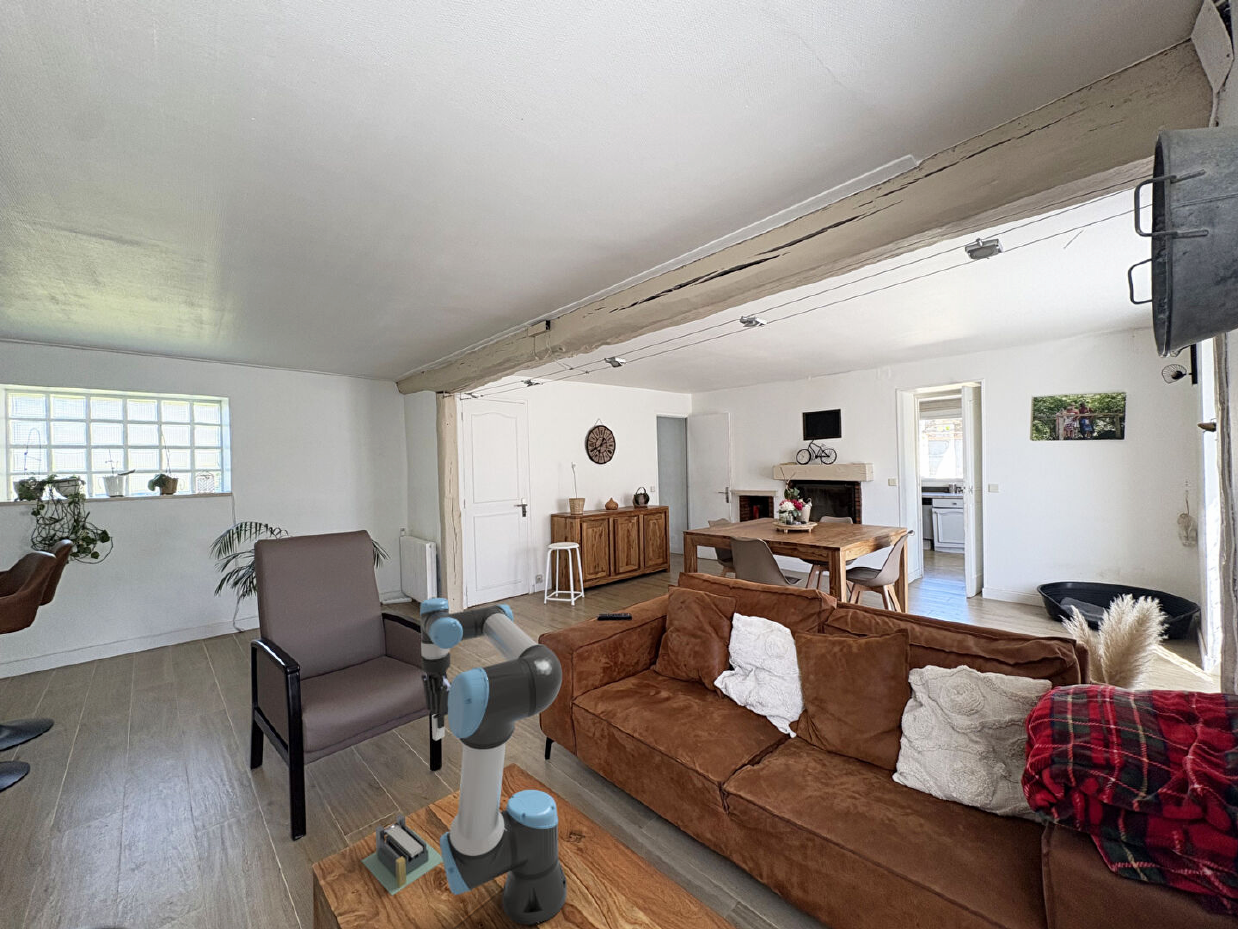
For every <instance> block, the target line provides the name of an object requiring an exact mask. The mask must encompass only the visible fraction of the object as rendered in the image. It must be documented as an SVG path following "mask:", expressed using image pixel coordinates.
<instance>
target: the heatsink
mask: <svg viewBox="0 0 1238 929" xmlns="http://www.w3.org/2000/svg"><path fill="white" fill-rule="evenodd" d="M403 827H404V831H405V832H406V833H407V834H408V835H409V836H410V837H412V838H413V839H414V840H415V841H416V842H417V843H418V844H420V845H421V846H422V847H423V851H421V852H420V853H418V854H416V855H415V856H413V857H412V858H411V857H410V856H409V855H408V854H407V853H406V852H405V851H404V850H403V849H402V848H400V847H399V846H398V845H397V844H396V843H395V842H394V841H393V840H392V839H391V838H390V837H389V836H387V835H385V841H384V840H383V839H381V840H379V844H380V848H378V860H379V861H380V862H381V863H382V864H383V865H384V866H385V867H386V868H387V869H388V870H389V871H390V873H391V874H392V875H393V876H394V877H395V878H396V860H397V859H398V858H400V857H403V858H404V859H405V865H406V876H407V875H408V874H410V873H411V872H413V871H414V870H416V869H417V868H419V867H420V866H422V865H423V864H425V863H426V862H428V861H429V857H428V849H426V843H425V842H426V841H425V840H424V839H423V838H422V839H423V840H424V841H425V842H424V841H423V840H422V839H420V838H419V837H418V836H417V835H416V834H417V833H416V832H415V831H414V830H413V831H414V832H415V833H416V834H415V833H414V832H413V831H412V829H411V828H410V827H409V826H407V825H406V824H405V826H403Z"/></svg>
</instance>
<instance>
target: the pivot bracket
mask: <svg viewBox="0 0 1238 929" xmlns="http://www.w3.org/2000/svg"><path fill="white" fill-rule="evenodd" d="M396 822H397V823H398V825H399V827H400V828H401V829H402V830H404V827H403V826H405V825H406V816H404V815H403V814H402V813H399V814H397V815H396ZM384 829H385V828H384V827H383V826H382V825H378V826H376V827H375V846H376V847H375V848H376V851H375V852H377V855H378V848H380V844H379V840H381V839H383V840H384V841H385V842H386V837H385V836H386V835H385V832H384Z"/></svg>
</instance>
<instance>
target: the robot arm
mask: <svg viewBox="0 0 1238 929" xmlns="http://www.w3.org/2000/svg"><path fill="white" fill-rule="evenodd" d="M419 609H420V612H419V616H420V619H419V620H420V637H421V638H420V639H421V640H420V641H421V642H420V643H421V644H420V646H421V649H420V650H421V656H422V657H421V670H422V671H423V672H425V673H424V674H421V675H420V676H421V681H422V683H423V684H422V685H423V692H424V699H425V705H426V710H427V711H429V714H430V715H431V727H432V728H431V731H432V732H431V734H432V739H433V740H434V741H438V740H440V739H442V738H445V737H446V735H445V734H446V733H445V732H446V731H445V716H447V719H448V725H449V729H450V731H451V734H452V736H454V737H455V738H457V739H458V740H459V742H460V743H461V744H462V756H461V757H462V758H461V770H460V781H459V783H460V785H459V798H458V801H459V802H458V810H457V811H458V812H457V814H456V816H455V817H454V818H453V820H452V822H451V823H450V827H449V831H446V832H445V833H444V834H442V835H441V836H440V837H439V847H440V855H441V856H442V859H443V862H442V863H443V868H444V871H445V878H446V880H447V883H448V884H447V885H448V888H449V890H450V892H451V893H452V894H453V895H455V896H457V895H462V894H463V893H466V892H471V891H473V890H474V889H476V888H477V887H480V886H481V885H485V884H486V883H488V882H491V881H492V880H495V879H496V878H498V877H500V876H502V875H504V874H506V880H505V882H504V884H503V888H502V895H501V896H502V899H501V900H502V909H503V911H504V913H505V915H506V916H507V917H508V918H509V919H510V920H511V921H513V922H514V923H515V924H516V923H517V924H521V925H526V926H528V925H529V926H533V925H535V924H534V923H538V922H542V921H544V920H546V921H548V920H550V919H552V918H553V917H554V916H556V915H557V914H558V913H559V912H560V910H562V908H563V907H564V904H565V903H566V900H567V897H568V896H567V895H568V884H567V877H566V875H565V872H564V870H563V869H564V868H563V866H562V865H561V861H560V859H559V858H560V857H559V831H558V830H559V817H558V816H559V815H558V810H557V808H558V807H557V803H556V801H555V799H554V798H553V797H552V796H551V795H550V794H549V793H547V792H544V791H541V790H536V789H524V790H522V791H518V792H516V793H514V794H513V795H511V797H510V798H509V799H508V801H507V803H506V809H503V810H501V811H500V804H501V803H500V802H501V793H502V784H503V775H504V774H503V773H504V764H505V755H506V754H505V753H506V744H507V743H508V742H509V741H510V739H511V738H512V737H513V734H514V733H515V727H516V722H517V721H521V720H524V719H527V718H530V717H533V716H535V715H538V714H540V713H542V712H544V711H545V710H546V709H548V708H549V707H550V706H552V704H553V702H554V701H555V700H556V698H557V696H558V694H559V692H560V689H561V686H562V682H563V671H562V669H563V668H562V665H561V662H560V659H559V658H558V656H557V655H556V654H555V652H553V650H551V649H550V647H548V646H546V645H545V644H540V643H539V644H538V643H537V642H536V641H534V639H532V638H531V637H530V636H529V635H528V634H527V633H526V632H524V631H523V630H522V629H521V628H520V627H519V626H518V625H517V624H515V622H514V614H513V611H512V609H511V607H510V605H508V604H495V605H490V606H486V607H481V608H475V609H470V610H469V609H468V610H465V611H463V610H462V611H458V612H453V613H450V612H449V611H450V606H449V601H448V599H446V598H444V597H434V598H433V597H432V598H428V599H426V600H423V601H422V602H421V603H420V608H419ZM481 637H482V638H483V637H484V638H486V639H487V640H488V642H489V643H490V644H491V645H492V646H493V648H494V649H495V650H496V651H497V652H498V653H499V654H500V655H501V657H503V659H505V661H503V662H499V663H495V664H491V665H487V666H484V667H483V666H482V667H479V666H476V667H474V668H471V669H469V670H467V671H463V672H460V673H459V674H457V675H456V676H455V677H454V678H453V680H452V682H449V680H448V673H447V670H448V669H449V668H450V666H451V654H450V650H451V649H452V648H454V647H456V646H457V645H458V644H459V643H460V642H462V641H466V640H467V641H469V640H472V639H477V638H481ZM544 922H545V921H544ZM542 923H543V922H542ZM538 924H539V923H538Z"/></svg>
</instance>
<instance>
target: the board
mask: <svg viewBox="0 0 1238 929" xmlns="http://www.w3.org/2000/svg"><path fill="white" fill-rule="evenodd" d="M411 830H412V829H411ZM412 831H413V832H414V833H415V834H416V835H417V836H418V837H419V838H420V839H422V840H423V841H424V842H425V843H426V849H428V857H429V861H428V862H426V863H425V864H423V865H422V866H420V867H419V868H417V869H416V870H414V871H413V872H411V873H410V874H408V875H407V876H406V884H405V885H403V886H402V887H400V888H399V887H398V885H397V882H396V878H395V877H394V876H393V875H392V874H391V873H390V871H389V870H388V869H387V868H386V867H385V866H384V865H383V864H382V863H381V862H380V861H379V860H378V855H377V852H376V851H375V852H374V853H372V854H370V855H369V856H367V857H365V858H364V859H361V863H363V865H364V866H365V867H366V868H367V870H369V871H370V873H371V874H372V875H373V876H374V877H375V878H376V880H378V882H379V883H380V884H381V885H382V886H383V887H384V888H385V889H386V891H388V893H389V894H390V895H391V896H394V895H395V894H398V892H400V891H402V890H403V889H404V888H406V887H407V886H409V885H410V884H412V883H413V882H415V881H416V880H418V879H419V878H421V877H423V875H426V874H427V873H428V872H429V871H431V870H432V869H434V868H435V867H437V866H439V865H440V864H441V863H443V859H442V854H441V853H439V852H438V851H437V850H435V849H434V848H433V847H432V846H431V845H430V844H429V843H428V842H427V841H425V839H423V838H422V837H421V836H420V835H419V834H418V833H416V832H415V831H414V830H412Z"/></svg>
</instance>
